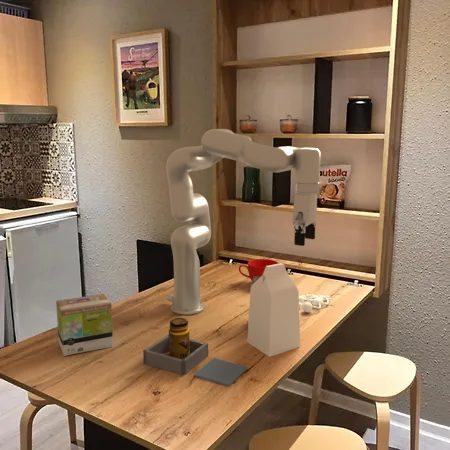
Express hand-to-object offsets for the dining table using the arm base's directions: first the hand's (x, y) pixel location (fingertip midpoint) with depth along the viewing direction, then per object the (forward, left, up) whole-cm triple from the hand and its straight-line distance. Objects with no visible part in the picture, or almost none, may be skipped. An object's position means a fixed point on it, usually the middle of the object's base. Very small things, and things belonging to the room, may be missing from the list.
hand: (304, 241), depth 153 cm
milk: (-5, -12, -31) cm, 34 cm away
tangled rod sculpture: (-7, +26, -32) cm, 42 cm away
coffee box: (-15, 0, -31) cm, 35 cm away
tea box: (-56, -41, -32) cm, 76 cm away
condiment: (-26, -35, -31) cm, 54 cm away
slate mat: (-11, -35, -31) cm, 48 cm away
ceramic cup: (-33, +37, -31) cm, 59 cm away
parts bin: (-26, -35, -31) cm, 54 cm away
